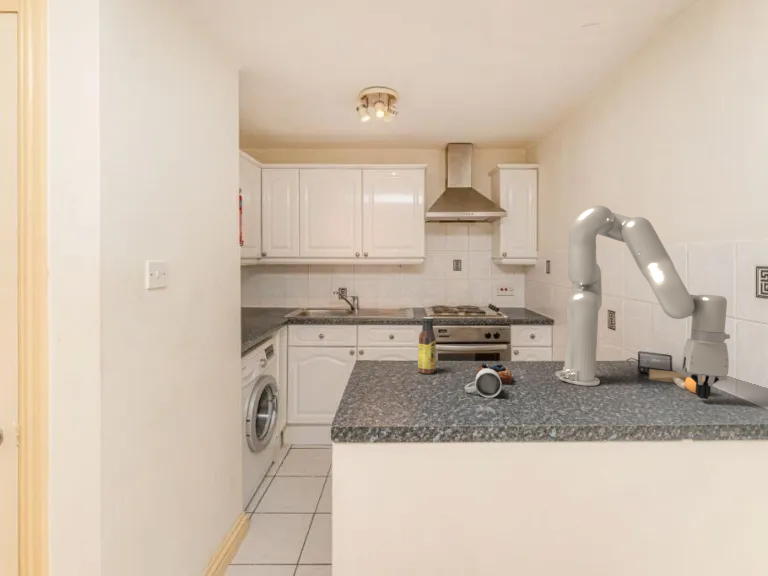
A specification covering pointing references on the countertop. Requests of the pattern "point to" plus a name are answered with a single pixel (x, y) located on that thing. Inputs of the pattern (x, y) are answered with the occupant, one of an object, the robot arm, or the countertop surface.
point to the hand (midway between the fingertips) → (702, 397)
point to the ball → (691, 384)
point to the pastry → (499, 372)
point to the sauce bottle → (427, 347)
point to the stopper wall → (665, 375)
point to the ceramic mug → (486, 383)
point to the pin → (679, 382)
